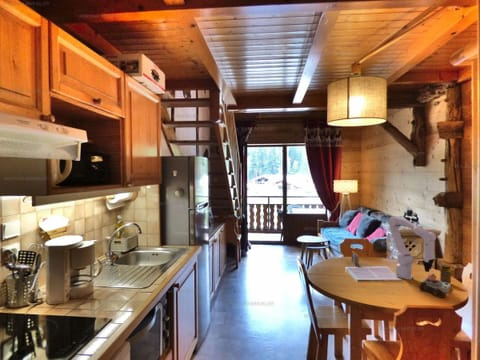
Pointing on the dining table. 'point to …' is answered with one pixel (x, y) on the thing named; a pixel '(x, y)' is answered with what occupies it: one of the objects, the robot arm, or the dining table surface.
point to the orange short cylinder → (432, 278)
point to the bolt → (431, 290)
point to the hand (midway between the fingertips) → (428, 270)
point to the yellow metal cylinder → (445, 274)
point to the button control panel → (438, 285)
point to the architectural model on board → (355, 258)
